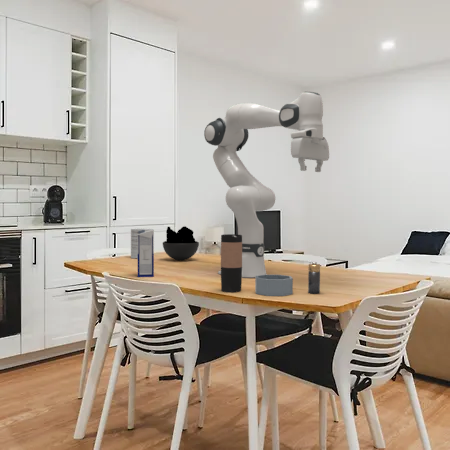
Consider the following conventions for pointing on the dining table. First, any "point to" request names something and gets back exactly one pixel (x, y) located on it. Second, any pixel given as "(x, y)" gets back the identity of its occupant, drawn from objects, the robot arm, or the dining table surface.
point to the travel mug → (231, 262)
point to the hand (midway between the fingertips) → (310, 171)
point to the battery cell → (314, 278)
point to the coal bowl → (180, 244)
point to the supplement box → (135, 242)
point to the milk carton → (146, 253)
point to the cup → (274, 285)
